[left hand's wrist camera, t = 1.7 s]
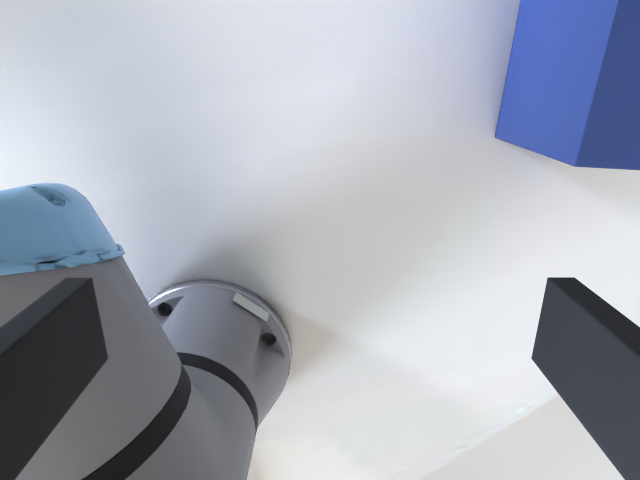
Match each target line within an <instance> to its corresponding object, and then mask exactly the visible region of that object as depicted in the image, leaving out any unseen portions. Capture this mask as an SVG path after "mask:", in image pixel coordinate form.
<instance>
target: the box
mask: <svg viewBox="0 0 640 480" xmlns="http://www.w3.org/2000/svg"><path fill="white" fill-rule="evenodd" d="M495 138H497V139H500V140H503V141H506V142H508V143H511V144H514V145H517V146H520V147H522V148H525V149H528V150H531V151H533V152H536V153H539V154H542V155H544V156H547V157H550V158H553V159H555V160H558V161H561V162H564V163H567V164H569V165H572V166H575V167H591V168H610V169H628V170H640V0H521V2H520V8H519V13H518V18H517V24H516V29H515V34H514V39H513V45H512V50H511V55H510V60H509V66H508V71H507V76H506V81H505V87H504V92H503V97H502V103H501V108H500V113H499V118H498V124H497V129H496V134H495Z"/></svg>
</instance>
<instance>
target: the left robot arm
mask: <svg viewBox="0 0 640 480" xmlns="http://www.w3.org/2000/svg"><path fill="white" fill-rule="evenodd" d="M124 253H125V252H124V250H123V248H122V246H120V245H119V244H116V243H115V242H114V240H113V239H112V237H111V235H110V234H109V232H108V231H107V229H106V228H105V226H104V224H103V223H102V221H101V220H100V218H99V217H98V215H97V213H96V212H95V210H94V209H93V207H92V206H91V204H90V202H89V201H88V200H87V199H86V198H85V197H84V196H83V195H82V194H81V193H80V192H78V191H77V190H75V189H73V188H71V187H69V186H66V185H63V184H58V183H39V184H33V185H27V186H22V187H17V188H12V189H8V190H3V191H0V480H246V479H247V475H248V470H249V465H250V460H251V456H252V451H253V446H254V441H255V436H256V431H257V427H258V426H259V425H260V423H261V422H262V420H263V419H264V417H265V416H266V415H267V413H268V412H269V410H270V409H271V408H272V406H273V405H274V403H275V402H276V400H277V399H278V398H279V396H280V394H281V392H282V390H283V388H284V386H285V383H286V381H287V377H288V374H289V368H290V362H291V345H290V340H289V336H288V333H287V331H286V328H285V326H284V324H283V322H282V321H281V319H280V318H279V316H278V315H277V314H276V312H275V311H274V310H273V309H272V308H271V307H270V306H269V305H268V304H267V303H266V302H265V301H263V300H262V299H261V298H260V297H258V296H257V295H255V294H254V293H252V292H250V291H248V290H246V289H244V288H242V287H239V286H237V285H234V284H230V283H226V282H222V281H216V280H194V281H188V282H183V283H180V284H177V285H174V286H172V287H169V288H167V289H166V290H164V291H162V292H161V293H159V294H158V295H156V296H155V297H154V298H153V299H152V300H151V301H150V302H149V303H148V302H147V300H146V299H145V297H144V295H143V293H142V291H141V289H140V288H139V286H138V284H137V282H136V280H135V278H134V277H133V275H132V273H131V271H130V269H129V268H128V266H127V264H126V262H125V260H124V258H123V257H122V255H123V254H124ZM532 360H533V361H534V362H535V364H536V365H537V366H538V367H539V369H540V370H541V371H542V373H543V374H544V375H545V377H546V378H547V379H548V380H549V382H550V383H551V384H552V386H553V387H554V388H555V390H556V391H557V392H558V393H559V395H560V396H561V397H562V399H563V400H564V401H565V402H566V404H567V405H568V406H569V408H570V409H571V410H572V412H573V413H574V414H575V415H576V417H577V418H578V419H579V421H580V422H581V423H582V425H583V426H584V427H585V428H586V430H587V431H588V432H589V434H590V435H591V436H592V438H593V439H594V440H595V441H596V443H597V444H598V445H599V447H600V448H601V449H602V451H603V452H604V453H605V454H606V456H607V457H608V458H609V460H610V461H611V462H612V464H613V465H614V466H615V467H616V469H617V470H618V471H619V473H620V474H621V475H622V476H623V478H624V479H625V480H640V327H638V326H637V325H636V324H635V323H633V322H632V321H631V320H629V319H628V318H627V317H625V316H624V315H623V314H621V313H620V312H619V311H617V310H616V309H615V308H614V307H612V306H611V305H610V304H608V303H607V302H606V301H604V300H603V299H602V298H600V297H599V296H598V295H596V294H595V293H594V292H593V291H591V290H590V289H589V288H587V287H586V286H585V285H583V284H582V283H581V282H579V281H578V280H577V279H576V278H548V279H547V284H546V289H545V294H544V299H543V304H542V309H541V314H540V319H539V324H538V329H537V334H536V339H535V344H534V349H533V354H532Z"/></svg>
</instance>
